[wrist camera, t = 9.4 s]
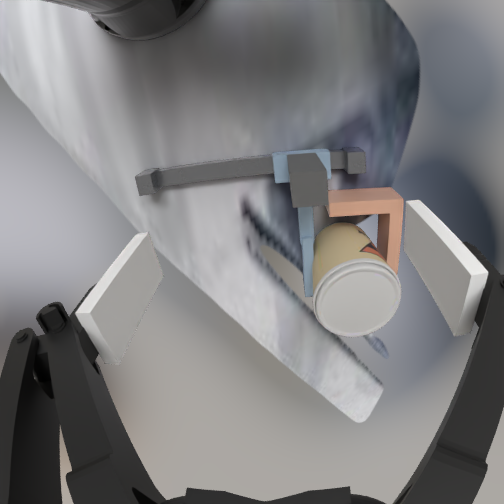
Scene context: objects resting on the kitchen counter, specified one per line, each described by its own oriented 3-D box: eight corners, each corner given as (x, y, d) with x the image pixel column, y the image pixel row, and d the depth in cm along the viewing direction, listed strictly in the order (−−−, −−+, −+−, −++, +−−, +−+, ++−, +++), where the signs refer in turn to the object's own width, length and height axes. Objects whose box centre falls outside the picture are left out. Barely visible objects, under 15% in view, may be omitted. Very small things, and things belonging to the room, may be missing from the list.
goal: (323, 190, 37) (329, 203, 33) (390, 187, 36) (403, 199, 32) (325, 300, 44) (329, 320, 40) (382, 295, 43) (391, 314, 39)
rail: (144, 170, 37) (135, 176, 35) (358, 147, 34) (365, 151, 31) (148, 188, 38) (139, 195, 36) (359, 167, 35) (365, 173, 32)
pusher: (272, 150, 35) (271, 174, 25) (325, 146, 34) (345, 169, 24) (285, 280, 43) (286, 338, 33) (329, 277, 42) (342, 334, 32)
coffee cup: (383, 261, 41) (412, 317, 30) (323, 289, 44) (334, 350, 33) (359, 203, 37) (388, 248, 27) (292, 235, 40) (297, 290, 30)
